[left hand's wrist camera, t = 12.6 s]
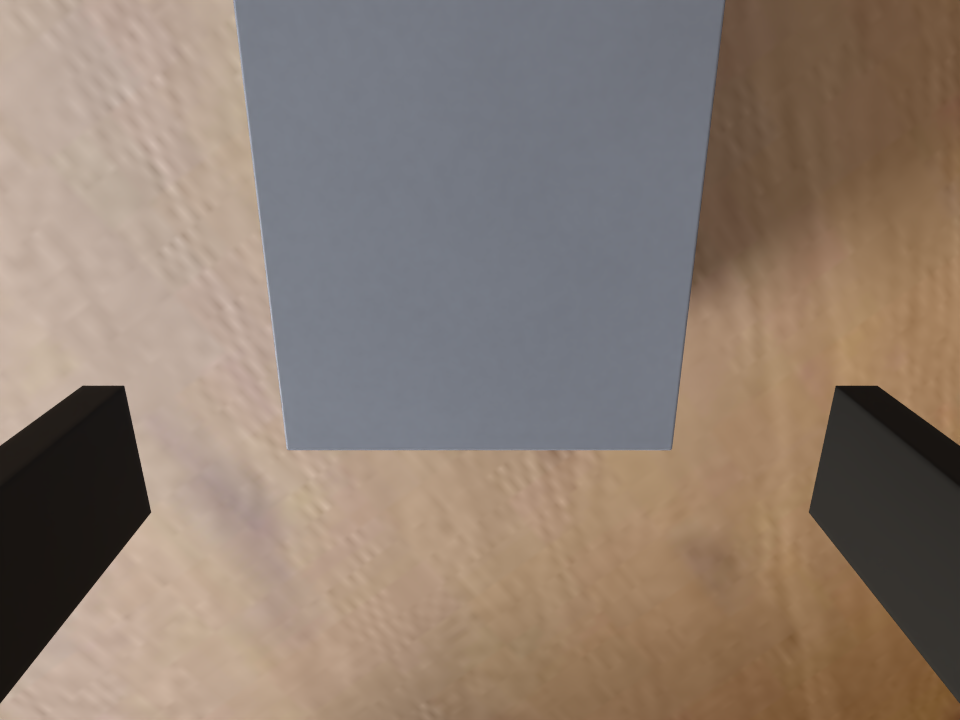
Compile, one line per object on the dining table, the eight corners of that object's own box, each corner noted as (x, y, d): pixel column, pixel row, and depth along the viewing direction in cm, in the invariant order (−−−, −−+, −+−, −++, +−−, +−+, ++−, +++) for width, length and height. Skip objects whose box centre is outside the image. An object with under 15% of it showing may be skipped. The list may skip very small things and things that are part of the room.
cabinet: (304, -313, 22) (153, -669, 12) (654, -313, 22) (806, -667, 12) (351, 330, 29) (286, 451, 19) (607, 330, 30) (672, 451, 20)
